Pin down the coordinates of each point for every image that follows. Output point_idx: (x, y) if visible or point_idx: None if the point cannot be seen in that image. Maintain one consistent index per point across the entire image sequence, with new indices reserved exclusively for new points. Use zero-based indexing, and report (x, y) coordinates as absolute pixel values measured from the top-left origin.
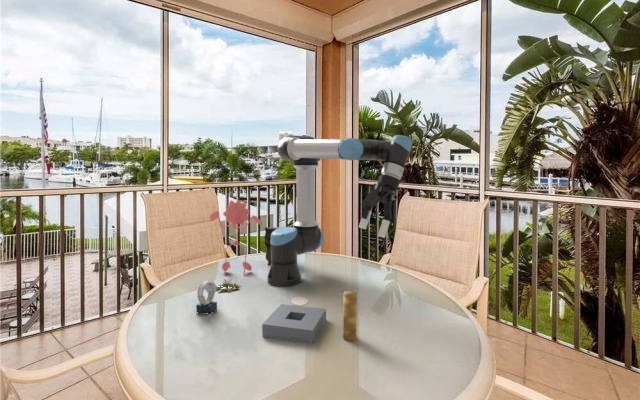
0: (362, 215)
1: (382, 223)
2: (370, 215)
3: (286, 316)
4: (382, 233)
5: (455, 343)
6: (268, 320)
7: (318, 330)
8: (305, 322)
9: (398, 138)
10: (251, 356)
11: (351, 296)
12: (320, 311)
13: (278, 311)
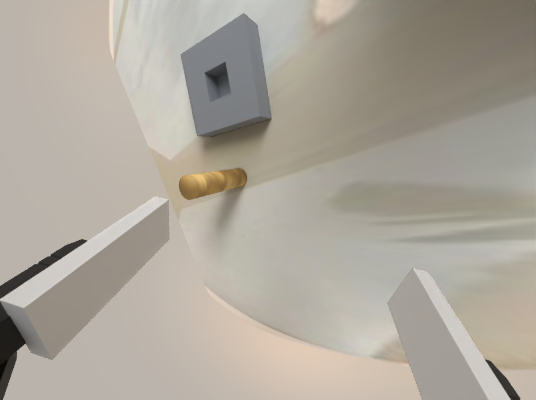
0: (60, 253)
1: (475, 395)
2: (91, 318)
3: (210, 69)
4: (407, 313)
5: (279, 307)
6: (191, 52)
7: (230, 129)
8: (208, 112)
9: None
10: (167, 86)
11: (182, 192)
12: (246, 112)
13: (217, 39)
